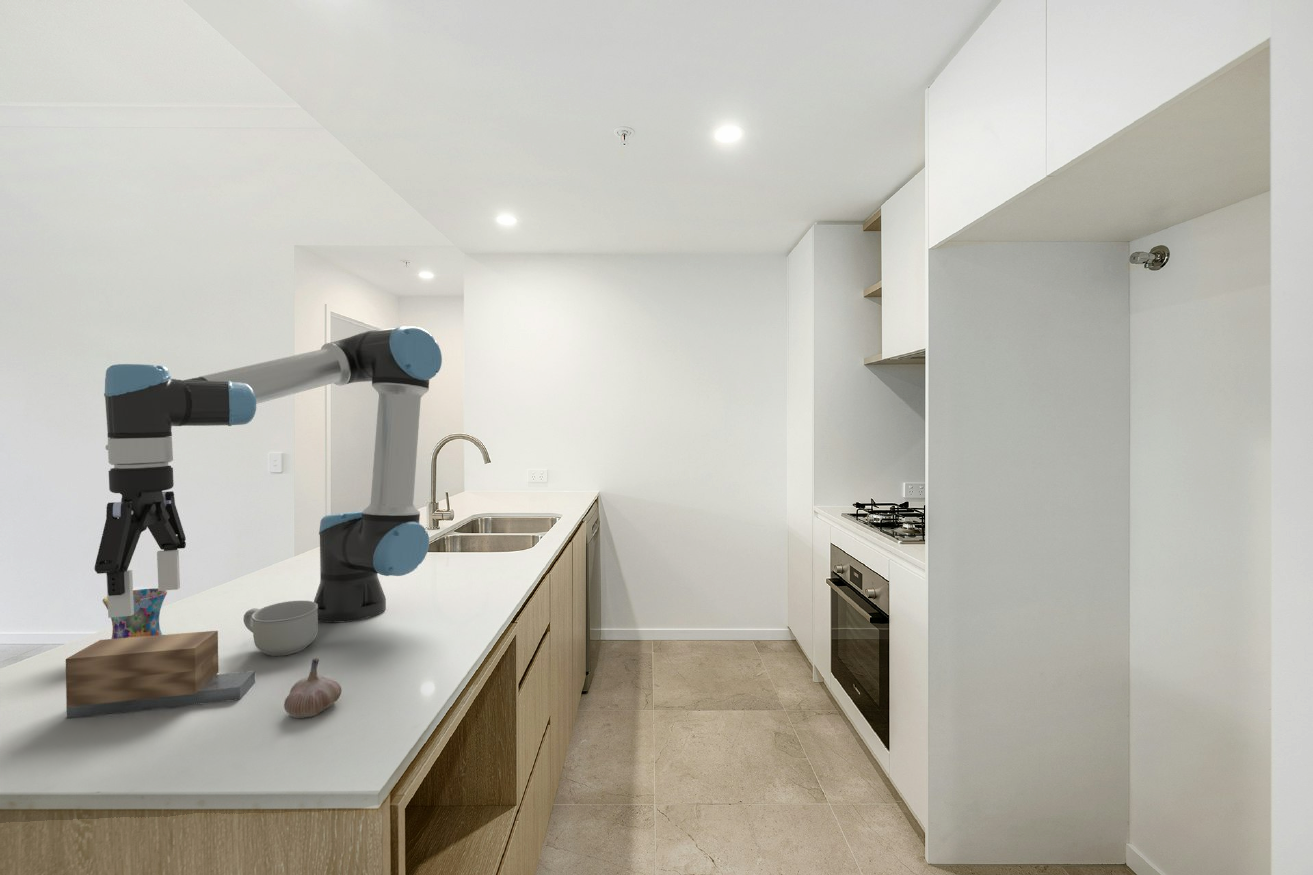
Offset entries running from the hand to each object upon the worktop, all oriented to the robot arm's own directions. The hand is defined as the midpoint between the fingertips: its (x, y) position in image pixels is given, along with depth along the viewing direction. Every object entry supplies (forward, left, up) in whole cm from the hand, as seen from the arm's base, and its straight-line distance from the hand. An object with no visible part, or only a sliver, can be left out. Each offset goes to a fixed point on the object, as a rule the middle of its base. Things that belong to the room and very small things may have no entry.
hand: (147, 602), depth 93 cm
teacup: (-13, -19, -16) cm, 27 cm away
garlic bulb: (-26, +10, -16) cm, 32 cm away
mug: (+13, -27, -16) cm, 34 cm away
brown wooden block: (0, 0, -13) cm, 13 cm away
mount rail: (-3, 0, -15) cm, 16 cm away
